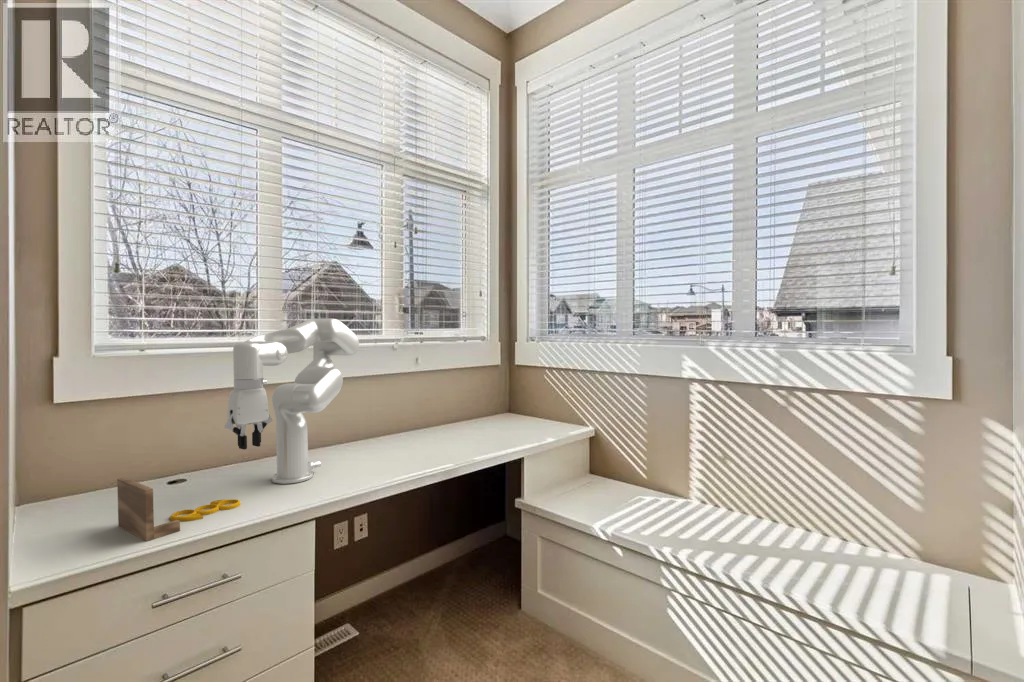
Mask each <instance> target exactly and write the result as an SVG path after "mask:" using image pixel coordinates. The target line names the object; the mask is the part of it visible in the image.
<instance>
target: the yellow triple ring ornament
mask: <svg viewBox="0 0 1024 682" xmlns="http://www.w3.org/2000/svg"><path fill="white" fill-rule="evenodd" d="M241 503H242V501H241V500H239V499H231V498H230V499H229V498H226V499H217V500H213V501H211V502H209V503H208V504H203V505H201V506H198V507H196V508H195V509H192V508H191V509H182V510H178V511H175V512H173V513H172V514H171V515H170V516H169V517H170V518H169V520H170V522H172V521H175V520H179V521H180V522H191V521H192V522H193V521H198V520H202V519H204V516H209V515H212V514H216V513H217V512H219V511H228V510H233V509H236V508H239V507H240V506H241V505H242V504H241Z"/></svg>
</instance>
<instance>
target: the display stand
mask: <svg viewBox="0 0 1024 682" xmlns="http://www.w3.org/2000/svg"><path fill="white" fill-rule="evenodd" d="M116 482H117V484H116V485H117V519H118V521H117V523H118V525H117V526H118V527H119V528H120V529H123V530H124V531H126V532H129V533H131V534H132V535H134V536H136V537H138V538H140V539H141V540H143V541H146V542H149V541H152V540H155V539H158V538H161V537H165V536H169V535H170V534H171V535H172V534H175V533H178V532H180V531H181V521H179V520H175V521H169V522H165V523H162V524H159V525H156V526H155V522H154V520H155V519H154V518H155V516H154V515H155V514H154V489H153V488H152V487H150V486H148V485H145V484H142V483H139V482H138V481H135V480H133V479H129V478H127V477H121V478H117V480H116Z"/></svg>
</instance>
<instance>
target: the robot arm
mask: <svg viewBox="0 0 1024 682" xmlns="http://www.w3.org/2000/svg"><path fill="white" fill-rule="evenodd" d="M359 340H360V339H359V338H358V336H357V334H356V333H355V332H353V331H352V329H350V328H349V327H348V326H347V325H346V324H344V322H342V321H340V320H339V319H337V318H310V319H307V320H305V321H303V322H300V323H298V324H296V325H294V326H291V327H289V328H284V329H281V330H277V331H273V332H268V333H265V334H260V335H257V336H255V337H252V338H249V339H247V340H245V341H244V342H238V343H235V344H234V345H233V349H232V350H233V351H232V352H233V353H232V355H233V358H232V361H233V389H232V390H230V393H229V396H228V397H229V398H228V403H227V419H226V420H227V421H226V423H225V425H224V429H226V430H229V431H232V432H233V433H234V434H235V435H236V436H237V446H238V448H239V449H241V450H247V449H248V436H247V435H246V426H247V425H251V424H252V427H253V431H252V433H251V439H252V441H251V445H252V446H254V447H261V443H262V433H263V431H264V429H265V428H267V427H266V426H267V425H269V424H270V423H271V422H272V421H273V419H272V417H271V415H270V412H269V411H270V409H269V400H268V395H267V391H266V388H264V385H267V383H268V380H267V379H266V378H265V379H264V367H266V366H267V367H274V366H279V365H282V364H283V363H284V362H285V361H286V359H287V358H288V355H289V354H295V353H299V352H303V351H304V350H307V348H309V347H312V346H313V347H312V348H313V349H312V350H313V351H312V352H313V356H312V357H313V359H312V360H311V362H310V363H309V364H307V365H306V366H305V367H304V368H303V369H302V370H301V371H300V372H299V373H298V374H297V375H296V376H295V379H294V380H293V381H294V382H293V383H292V382H291V383H290V382H289V383H283V384H281V385H278V386H277V387H276V388H275V389H274V390H273V392H272V396H271V401H272V407H273V410H274V417H275V435H276V439H275V440H276V441H275V442H276V446H275V447H276V449H275V450H276V473H275V474H273V475H272V476H271V482H272V483H275V484H281V485H287V484H295V483H296V484H297V483H301V482H305V481H308V480H310V479H312V478H313V477H314V472H313V471H312V470H313V469H315V468H319V467H321V465H322V462H321V461H320V460H317V461H314V462H313V461H309V443H308V441H309V440H308V439H309V438H308V437H309V435H308V433H309V432H308V430H309V429H308V421H307V419H306V416H305V415H304V414H317V413H320V412H322V411H323V410H325V409H326V408H327V406H329V405H330V404H331V402H332V401H333V400H334V399H335V398H336V397H337V396H338V394H339V393H340V391H341V390H342V387H343V384H344V377H343V374H342V372H341V371H340V370H339V369H337V368H336V367H335V365H334V362H333V360H332V359H331V356H346V357H347V356H348V357H349V356H352V355H355V354H357V352H358V351H359V348H360V341H359ZM303 413H304V414H303ZM235 425H236V426H235Z"/></svg>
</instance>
